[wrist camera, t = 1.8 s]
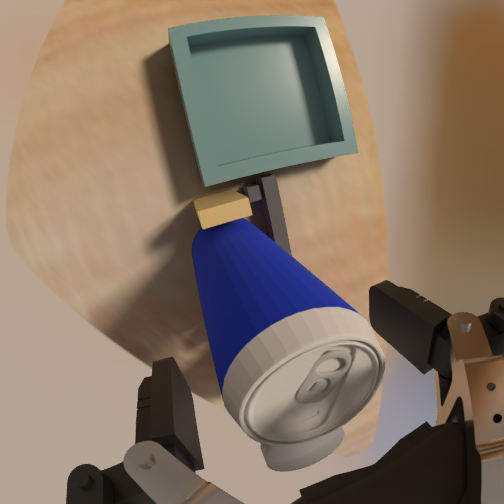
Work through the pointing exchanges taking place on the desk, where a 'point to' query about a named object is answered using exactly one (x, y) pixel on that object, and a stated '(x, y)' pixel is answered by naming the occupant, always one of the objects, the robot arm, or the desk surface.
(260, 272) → the beverage can
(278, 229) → the fuse block
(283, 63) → the tray
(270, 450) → the fuse
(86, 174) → the desk surface
